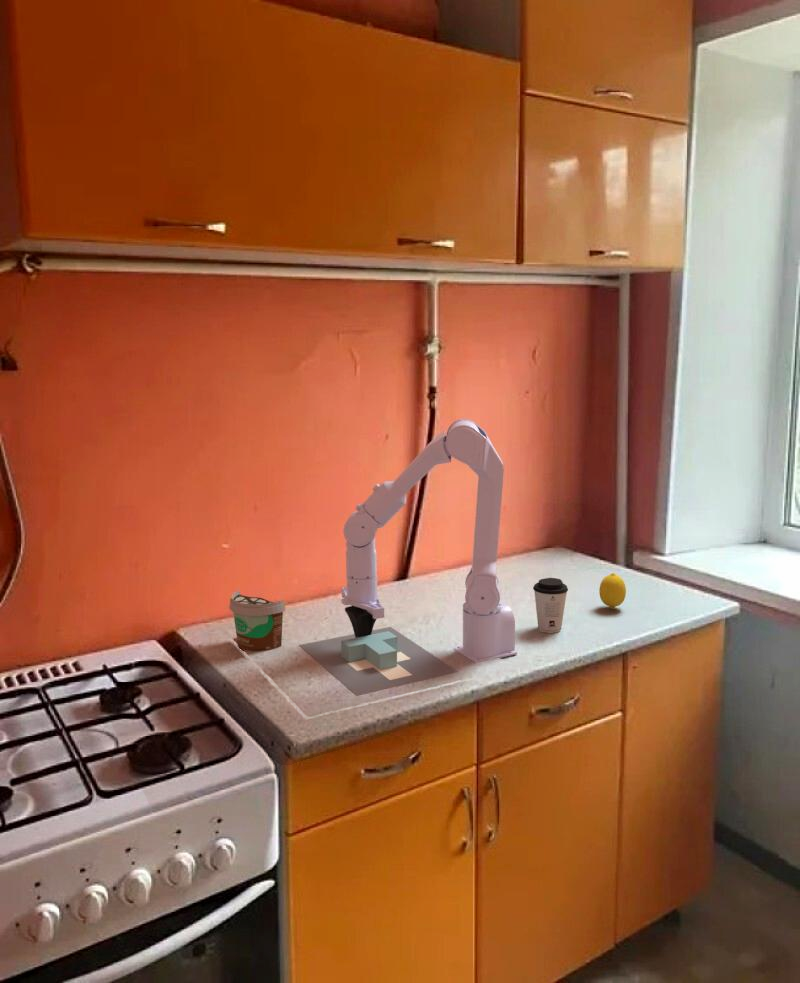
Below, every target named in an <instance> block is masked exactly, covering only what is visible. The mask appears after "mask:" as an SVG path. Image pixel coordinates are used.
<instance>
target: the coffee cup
mask: <svg viewBox="0 0 800 983" xmlns="http://www.w3.org/2000/svg"><path fill="white" fill-rule="evenodd" d="M532 588H533V591H534V598H535V600H534V601H535V609H536V618H537V620H536V621H537V628H538V630H539V632H542V631H543V633H545V632H547V633H548V634H555V633H554V632H556V633H559V632H561V631H562V625H563V620H564V614H565V613H564V612H565V608H566V607H565V605H566V599H567V594H568V591H569V588H568V586H567V585H566V584H565V583H564V582H563V580H562V579H560V578H555V577H544V578H541V579H538V582H536V583H534V585H533V586H532ZM560 630H561V631H560Z"/></svg>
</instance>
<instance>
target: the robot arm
mask: <svg viewBox="0 0 800 983" xmlns="http://www.w3.org/2000/svg"><path fill="white" fill-rule="evenodd" d="M452 458H454V459H455V460H457V461H459V462H461V463H463V464H465V465H467V466H468V467H469V468H470V469H471V470H472V471H473V472H474V473H475V474H476V475H477V478H478V480H477V493H476V494H477V495H476V505H475V506H476V507H475V519H474V521H475V522H474V531H473V532H474V533H473V534H474V535H473V548H472V558H471V567H470V571H469V572H468V574H467V575H466V578H465V580H464V581H465V584H464V585H465V595H464V600H465V602H464V603H463V604H462V645H459V646H453V650H455V651H457V652H458V653H460V654H461V655H462V656H464V657H466V658H468V659H469V660H470V661H472V662H474V663H479V662H484V661H487V660H492V659H497V658H498V659H501V658H505V657H506V658H507V657H510V656H511V657H512V656H514V655H517V654H518V651H517V650H516V649H515V648H516V647H515V646H516V644H515V643H516V618H515V614H514V612H513V610H512V608H511V607H510V606H509V605H508V604H505V603H501V602H500V600H501V596H500V595H501V594H500V590H499V578H498V576H497V567H498V565H497V563H498V562H497V561H498V549H499V548H498V547H499V539H500V538H499V536H500V523H501V513H502V512H501V511H502V502H503V501H502V498H503V485H504V475H505V467H504V463H503V460H502V458H501V457H500V456H499V453H498V452H497V450H496V448H495V447H494V445H493V443H492V441H491V439H490V438H489V436H488V435H487V433H486V431H485V429H483V428H482V427H481V426H479V424H477V423H475V422H474V421H472V420H471V419H469V418H468V419H466V418H461V419H457V420H455V421H453V422H451V424H450V426H449V427H448V429H447V431H446V429H444V430H443V431H441V432H440V433H439V434H437V435H436V437H434V438H433V439H432V440H431V441H430V442H429V443H428V444H426V446H425V447H424V448H422V450H421V451H420V452H419V453H418V455H417V456H416V457H415V458H414V459H413V460H412V461H411V462H410V463H409V464H408V466H407V467H406V468H404V470H403V471H402V472H401V473H400V474H399V476H398V477H397V478H396V479H394V480H388V481H387V480H386V481H383V482H382V483H380V484H379V483H376V485H374V486H373V488H372V491H373V492H372V493H371V494H370V495H369V496H368V497H367V499H365V500H364V501H363V503H362V504H361V503H358V504H357V505H356V506H355V511H353V512H352V513H351V514H350V515H349V516H348V518H347V519H346V520H345V523H344V527H343V536H344V538H345V540H346V542H345V546H346V551H345V569H346V570H345V571H346V572H345V574H346V576H345V577H346V586H343V587H341V597H342V599H341V601H340V602H341V604H342V605H344V606H346V607H345V608H344V611H345V613H346V614H347V616H348V619H349V621H350V623H351V626H352V630H353V634H355V638H357V637H362V636H367V635H371V634H372V630H374V629H373V628H374V626H375V623H376V621H377V620H378V619H379V620H380V619H383V618H384V619H385V607H384V606H382V604H381V600H380V598H379V596H378V573H377V572H378V571H377V570H378V569H377V567H378V564H377V561H378V560H377V556H378V555H377V549H376V533H377V531H378V530H379V529H380V528H383V527H384V526H385V525H386V524H387V523H389V522H390V520H391V519H392V518H393V517H394V516H395V515H396V514H398V512H399V511H400V510H401V509H402V508H403V507H404V506H405V505H406V504H407V493H408V492H409V491H410V490H411V489H412V488H413V487H414V486H416V485H417V483H418V482H420V481H421V480H422V479H423V478H424V477H425V476H426V475H427V474H428V473H429V472H431V470H432V469H433V468H434V467H435V466H436V465H442V464H447V463H448V464H449V463H451V462H452Z"/></svg>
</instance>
